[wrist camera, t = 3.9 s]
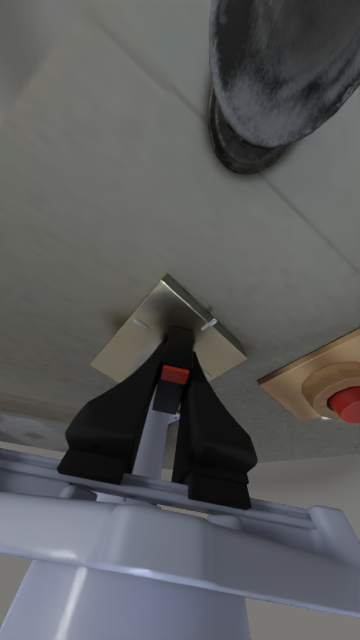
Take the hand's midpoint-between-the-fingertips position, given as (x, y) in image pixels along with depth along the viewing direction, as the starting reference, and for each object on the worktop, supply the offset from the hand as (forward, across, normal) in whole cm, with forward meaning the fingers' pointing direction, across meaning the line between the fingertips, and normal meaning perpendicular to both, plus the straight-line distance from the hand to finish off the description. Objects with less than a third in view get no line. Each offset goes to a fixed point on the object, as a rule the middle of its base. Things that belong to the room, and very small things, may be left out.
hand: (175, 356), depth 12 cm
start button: (+1, -18, +1) cm, 18 cm away
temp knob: (+1, 0, 0) cm, 1 cm away
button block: (+3, -18, +1) cm, 18 cm away
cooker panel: (+3, +1, +2) cm, 4 cm away
